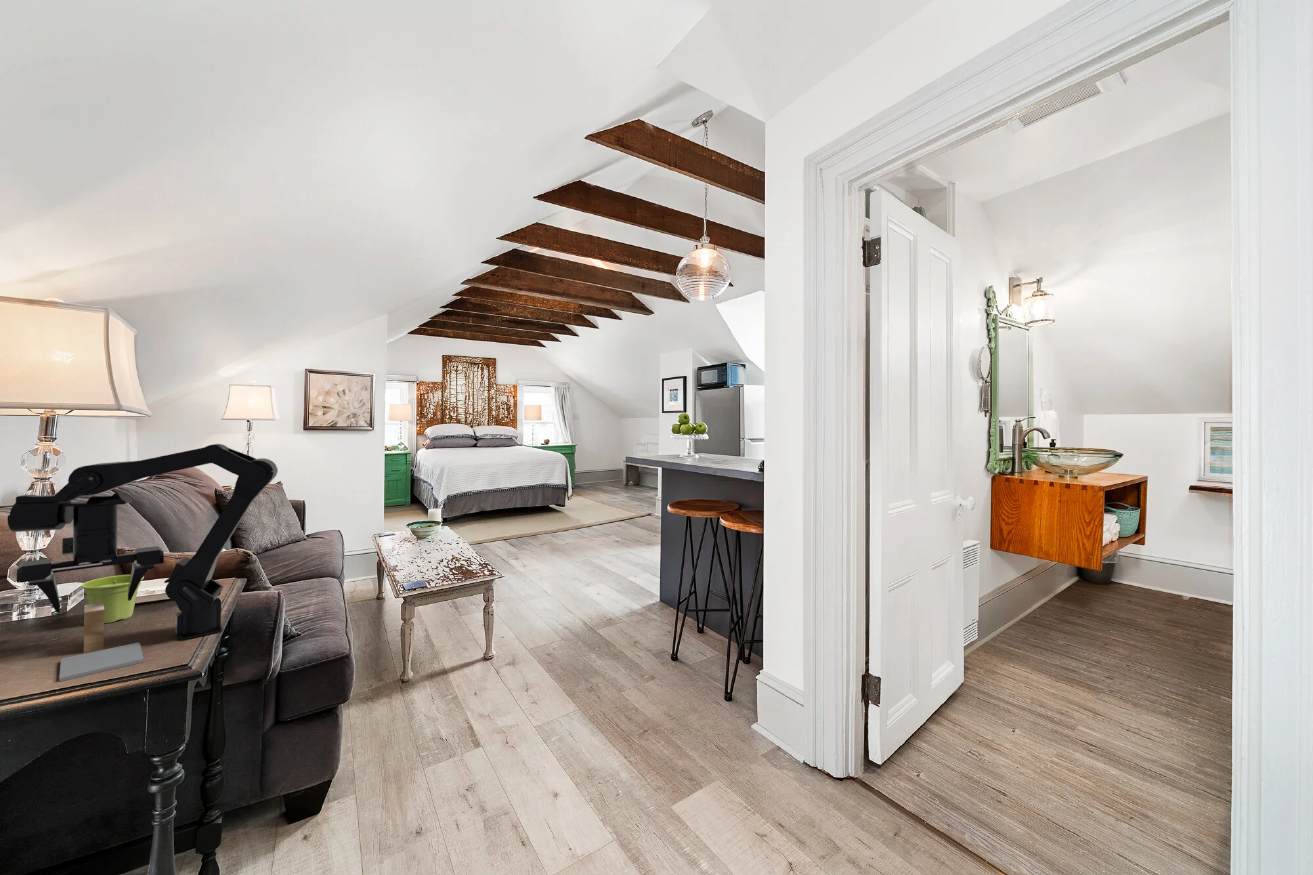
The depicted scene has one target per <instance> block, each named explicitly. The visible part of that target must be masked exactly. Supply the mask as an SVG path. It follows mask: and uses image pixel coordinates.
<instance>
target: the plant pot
mask: <svg viewBox="0 0 1313 875" xmlns="http://www.w3.org/2000/svg"><path fill="white" fill-rule="evenodd" d="M130 577H131V574H123V575H122V574H120V575H113V576H106V577H100V578H96V579H92V580H88V581H85V582H83V583H82V584H81V585H80V587H81V588H82V589H83V590H84V594H85V595H86V598H87V602H88V604H94V603H101V602H103V603H104V624H109V623H114V622H115V623H116V621H118V620H119V621H120V620H126V619H129V618H131V617H132V616H133V614H134V609H135V604H136V600H137V596H138V591H139V587H140V586H141V582H142V581H143V580H144V578H145V575H144V576H143V578H142V579H141V581H140V582H139V584H138V586H137V588H136V591H135V593H134V595H133V597H132V599H131V600H130V601H128V588H129V583H130ZM88 604H87V605H88Z"/></svg>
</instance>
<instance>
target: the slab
mask: <svg viewBox="0 0 1313 875" xmlns="http://www.w3.org/2000/svg"><path fill="white" fill-rule="evenodd" d="M83 606H84V608H83V609H84V611H83V613H84V614H83V654H86V653H91V652H95V651H100V650H104V642H105V641H104V636H105V635H104V634H105V630H104V628H105V626H104V625H105V623H104V603H103V602H101V603H94V604H84V605H83Z"/></svg>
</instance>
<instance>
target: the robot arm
mask: <svg viewBox="0 0 1313 875" xmlns="http://www.w3.org/2000/svg"><path fill="white" fill-rule="evenodd" d="M209 464H213V465H215V466H218V467H219V468H222V469H223V470H225V471H227V472H228V473H229V472H230V473H231V474H234V475H236V476H237V479H236V482H235V485H234V488H233V491H232V494H231V497H230V498H229V500H228V502H227V503H226V505H225V506H224V508H223V509H222V511H221V513H220V515H219V516H218V517H217V519H216V520H215V522H214V524H213V526H212V527H211V529H210V531H209V532H208V533H207V535H206V536H205V538H204V539H203V541H202V542H201V544H200V546H199V547H198V549H197V550H196V552H195V554H194V555H193V556H192V557H191V558H189V557H187V556H184V557H183V558H182V559H181V560H179V561H177V563H176V564H175V565H174V568H173V570H172V572H171V575H170V576H169V577H168V578H167V579H166V580H164V581H163V582H164V584H166V583H167V584H166V587H165V589H164V592H165V594H166V596H167V598H169V599H170V600H171V601H173V602H175V604H176V605H177V607H178V609H179V612H176V613H175V634H176V636H178V637H179V638H180V640H182V641H185V640H189V639H192V638H193V639H194V638H197V637H198V638H199V637H202V636H207V635H211V634H216V633H221V632H223V631H224V628H223V627H222V600H221V599H220V596H221V594H222V591H223V589H224V586H223V585H222V584H220V582H218V581H216V580H214V579H213V578H212V577H213V575H214V573H215V568H216V566H217V562H218V559H219V556H221V553H222V552H223V550H224V548H226V546H227V544H228V542H229V541H230V539H231V538H232V536H233V534H234V532H235V531H236V529H237V527H238V526H239V524H240V523H241V521H242V519H243V517H244V516H245V515H246V513H247V511H248V510H249V508H250V507H251V505H252V503H253V502H254V501H255V500H256V498H257V497H258V496H259V495H260V494H261V493H262V492H264V490H265V489H266V488H267V487H268V485H269V484H270V483H271V482H272V481H274V479H275V478H276V477H277V474H278V473H279V472H278V471H279V470H278V466H277V464H276V463H275V462H274V461H272V460H271V459H268V458H263V457H261V458H255V457H254V456H252V455H249V454H246V453H243V452H240V451H237V450H235V449H232V448H230V447H228V446H227V445H224V444H221V443H214V444H209V445H206V446H204V447H200V448H196V449H190V450H184V451H180V452H175V453H171V454H167V455H166V454H165V455H162V456H161V455H160V456H156V457H151V458H146V459H141V460H133V461H131V460H130V461H127V460H126V461H114V462H100V463H94V464H89V465H83V466H79V467H77V468H74V469H73V471H72V472H71V473H69V476H68V479H67V481H68V482H67V484H65V485H64V486H63V487H62V488H60V490H59V491H58V492H56V493H55V494H49V495H48V494H47V495H46V494H45V495H38V494H37V495H35V494H22V495H17V496H16V497H15V503H14V504H13V505H12V507H11V509H10V511H9V514H8V515H7V526H8V529H9V530H10V531H11V532H14V533H20V532H22V533H23V532H38V531H55V530H56V531H58V530H62V529H64V527H65V526H66V525H70V524H71V523H73V527H72V528H73V529H72V533H73V534H72V537H63V538H62V540H61V545H62V546H61V552H62V553H61V554H62V556H67V555H69V556H70V555H72V560H66V561H60V562H59V561H58V562H53V558H43V559H35V560H25V561H22V562H21V563H20V564H18V567H17V569H16V583H20V584H21V583H27V582H28V585H27V586H30V587H31V586H37V587H38V588H39V589H40V591H41V592H42V593H43V594H44V595H45V596H46V597H47V598H48V599H47V600H49V602H50V605H51V606H52V608H53V609H54V611H55V612H56V613H57V614H59V613H61V601H60V595H59V591H58V585H57V580H56V574H55V573H62V572H63V573H64V572H70V571H71V572H72V571H77V570H78V571H79V570H84V569H92V568H101V567H108V566H109V567H110V566H117V565H124V564H130V563H132V565H131V572H130V575H131V577H130V583H129V588H128V601H130V600H131V599H132V597H133V595H134V593H135V591H136V588H137V586H138V584H139V582H140V581H141V582H142V580H141V579H142V578H143V576H144V577H145V575H146V573H147V572H148V571H149V570H153V569H156V568H155V567H156V565H159V564H160V565H161V564H164V560H165V559H164V558H165V555H164V550H163V549H162V547H161V546H158V545H157V546H155V545H154V546H147V547H138V548H135V549H134V552H132V553H124V554H123V553H122V554H118V506H121V505H127V504H129V503H132V502H133V499H132V498H131V497H129V496H127V495H125V494H124V492H122V491H116V492H114V493H113V494H112V495H99V494H102V493H104V492H109V491H111V490H115V489H117V488H120V487H123V486H125V485H128V484H132V483H134V482H137V481H139V480H142V479H144V478H149V477H153V476H158V475H162V474H168V473H172V472H175V471H176V472H177V471H181V470H185V469H190V468H194V467H199V466H204V465H209ZM97 494H98V495H97ZM93 495H95V496H93ZM96 495H97V496H96ZM87 496H91V497H89V498H88V499H87V500H85V501H84V500H82V501H75V500H77V499H80V498H81V499H82V498H84V497H87ZM73 500H74V501H73ZM72 521H73V522H72Z"/></svg>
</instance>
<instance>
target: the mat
mask: <svg viewBox="0 0 1313 875" xmlns="http://www.w3.org/2000/svg"><path fill="white" fill-rule="evenodd" d="M140 663H144V655H143V650H142V647H141V642H134V643H129V644H125V645H124V644H123V645H120V646H115V647H111V648H106V649H100V650H96V651H91V652H86V653H83V654H82V653H81V654H77V655H73V656H68V657H64V658H60V667H59V678H58V679H59V680H58V681H59V682H64V681H68V680H72V679H76V678H81V677H85V676H89V675H93V674H97V673H101V672H106V671H110V670H114V669H118V668H123V667H126V666H127V667H128V666H130V665H135V664H140Z"/></svg>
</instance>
